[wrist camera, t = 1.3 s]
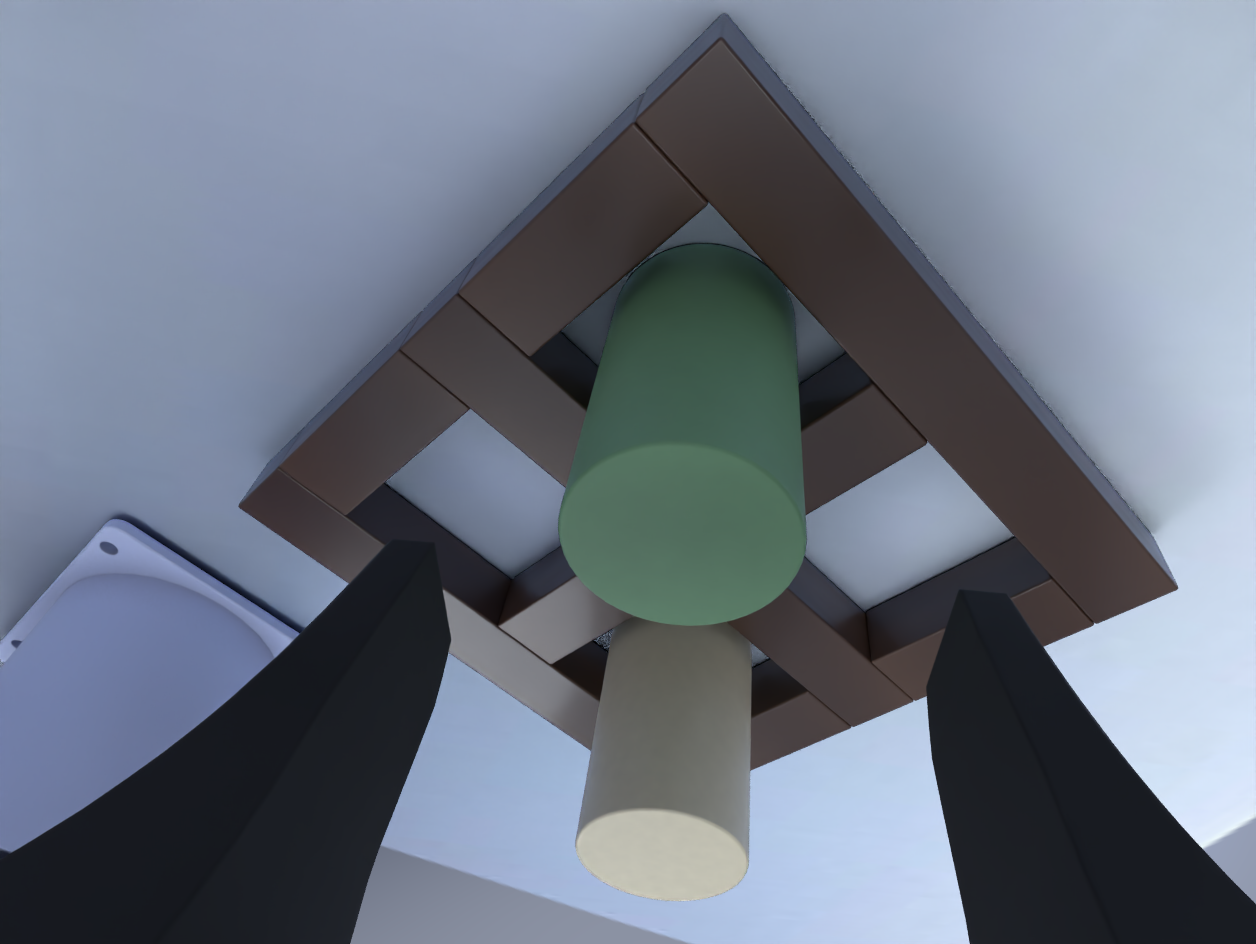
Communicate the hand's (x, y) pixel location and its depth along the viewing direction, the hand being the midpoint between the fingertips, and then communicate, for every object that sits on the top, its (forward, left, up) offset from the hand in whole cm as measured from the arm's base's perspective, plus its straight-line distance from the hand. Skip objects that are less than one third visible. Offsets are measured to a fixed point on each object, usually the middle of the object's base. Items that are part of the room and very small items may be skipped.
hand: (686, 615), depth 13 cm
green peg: (-1, 0, -9) cm, 9 cm away
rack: (-4, -4, -9) cm, 10 cm away
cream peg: (-8, -7, -9) cm, 14 cm away
